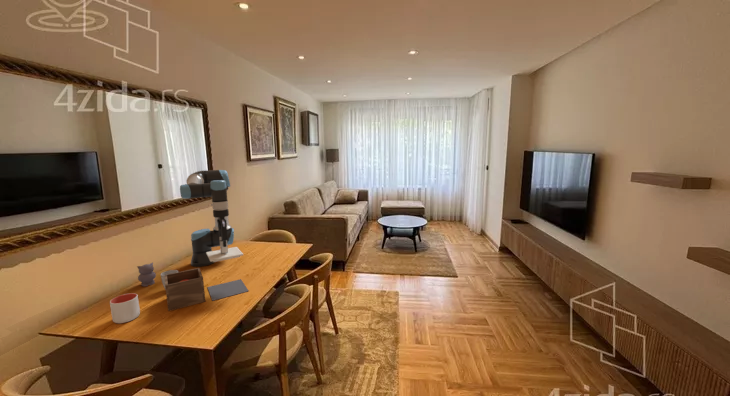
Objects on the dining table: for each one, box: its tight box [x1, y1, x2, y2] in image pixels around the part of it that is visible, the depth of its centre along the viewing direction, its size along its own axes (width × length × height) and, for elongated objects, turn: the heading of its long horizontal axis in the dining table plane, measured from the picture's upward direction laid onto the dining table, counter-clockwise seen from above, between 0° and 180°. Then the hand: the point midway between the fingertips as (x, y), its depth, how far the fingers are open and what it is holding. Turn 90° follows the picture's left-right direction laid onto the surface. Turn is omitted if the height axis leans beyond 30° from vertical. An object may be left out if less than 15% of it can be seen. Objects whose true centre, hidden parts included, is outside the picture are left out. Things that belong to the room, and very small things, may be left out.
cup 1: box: [109, 292, 141, 324], centre depth 136 cm, size 10×10×10 cm
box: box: [164, 267, 206, 312], centre depth 153 cm, size 16×16×13 cm
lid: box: [206, 237, 244, 263], centre depth 161 cm, size 16×16×11 cm
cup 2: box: [160, 269, 179, 291], centre depth 165 cm, size 8×8×10 cm
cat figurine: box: [136, 262, 157, 287], centre depth 172 cm, size 8×8×12 cm
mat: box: [206, 278, 250, 302], centre depth 165 cm, size 19×18×1 cm
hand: (224, 251), depth 161 cm, fingers closed on lid, 4 cm apart
